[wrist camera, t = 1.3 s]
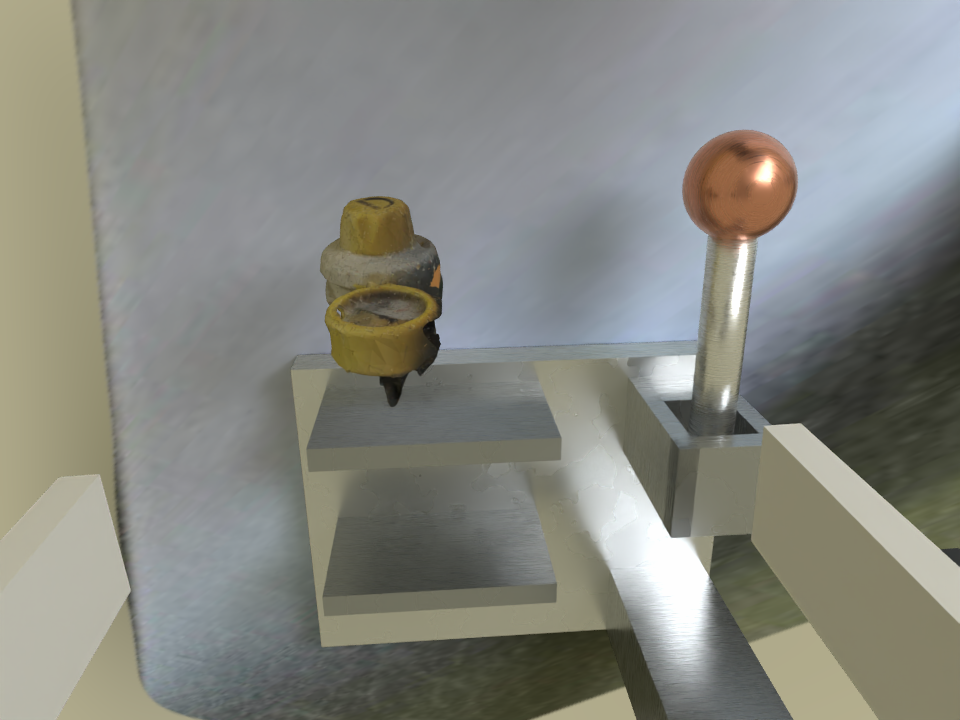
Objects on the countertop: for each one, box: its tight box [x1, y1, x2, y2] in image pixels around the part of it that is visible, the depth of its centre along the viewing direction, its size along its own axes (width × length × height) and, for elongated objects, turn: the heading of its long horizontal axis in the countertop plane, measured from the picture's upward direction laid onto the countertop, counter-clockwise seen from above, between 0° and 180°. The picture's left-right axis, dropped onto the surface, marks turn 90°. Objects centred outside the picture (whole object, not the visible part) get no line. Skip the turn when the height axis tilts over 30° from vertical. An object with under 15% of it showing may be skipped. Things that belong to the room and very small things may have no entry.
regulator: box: [320, 196, 443, 407], centre depth 26 cm, size 8×4×15 cm, turn 3°
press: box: [291, 341, 793, 720], centre depth 29 cm, size 16×21×20 cm
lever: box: [682, 130, 798, 437], centre depth 28 cm, size 14×4×4 cm, turn 1°
